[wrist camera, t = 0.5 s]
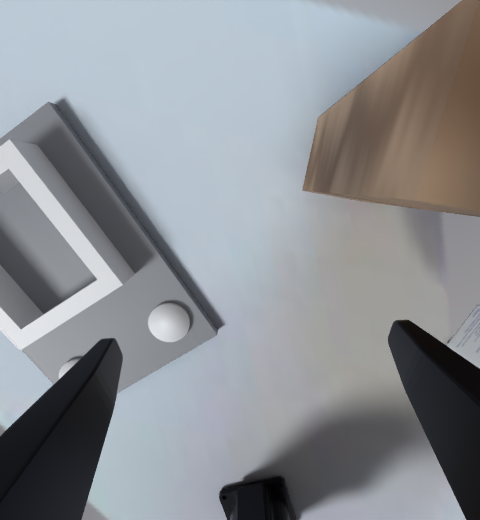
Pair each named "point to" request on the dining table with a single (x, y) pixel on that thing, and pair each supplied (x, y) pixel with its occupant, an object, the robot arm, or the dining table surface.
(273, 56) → the dining table surface
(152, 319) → the grey insertion base
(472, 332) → the medicine box
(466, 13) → the tan tall block
